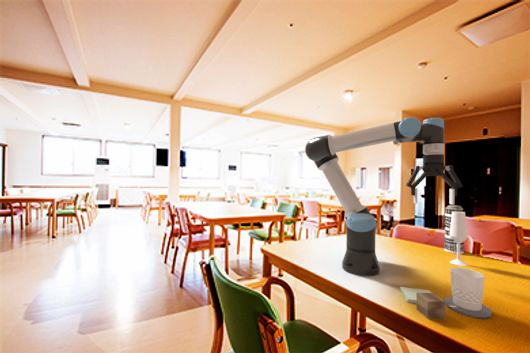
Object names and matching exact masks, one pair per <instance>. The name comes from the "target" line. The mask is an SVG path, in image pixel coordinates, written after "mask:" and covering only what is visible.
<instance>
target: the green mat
mask: <svg viewBox="0 0 530 353" xmlns="http://www.w3.org/2000/svg"><path fill="white" fill-rule="evenodd" d="M399 290H400V292H401V293H402V295H403V298H405V299H404V300H406V302H407V303H410V304H416V302H417V293H432V292H431V290H429V289H421V288H413V287H412V288H411V287H405V286H404V287H403V286H399Z"/></svg>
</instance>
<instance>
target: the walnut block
mask: <svg viewBox="0 0 530 353" xmlns="http://www.w3.org/2000/svg"><path fill="white" fill-rule="evenodd" d="M415 304H416V305H415V306H416V310H417V312H419V313H420V314H421V315H422V314H423V316H424V317H425V319H427V320H446V318H447V317H446V314H447V312H446V309H447V308H446V307H447V306H446V301H445V299H443V298H441V297H439V296H438V295H437V294H436V293H434V292H431V293H417V302H416V303H415Z"/></svg>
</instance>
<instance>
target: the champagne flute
mask: <svg viewBox="0 0 530 353" xmlns="http://www.w3.org/2000/svg"><path fill="white" fill-rule="evenodd" d="M449 235H450V237H451V238H452V239H453V240H454V241H455V242H457V253H456V258H455V259H453V260H450V261H449V263H450V264H452V265H455V266H459V267H467V266H468V265H469V264H467V263H466V262H465V261H463V260H462V259H461V254H460V243H461V242H463V243H464V242H465V241H466V240H467V239H468V237H469V234H468V227H467V218H466V212H465V211H463V212H455V211H453V212H452V217H451V225H450V234H449Z"/></svg>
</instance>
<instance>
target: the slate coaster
mask: <svg viewBox="0 0 530 353" xmlns="http://www.w3.org/2000/svg"><path fill="white" fill-rule="evenodd" d="M444 301H446V307H447V308H449V309H450V310H452V311H453V310H454V312H455V313H457V314H460V313H461V314H460V315H463V316H465V317H466V316H467V317H471V318H476V319H491V317H493V311H492V310H491V308H489V307H488V306H487V305H485V304H484V303H482V310H480V311H472V310H467V309H464V308H461V307H459V306H457V305H455V304H454V303H453V296H447V297H445V298H444Z"/></svg>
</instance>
